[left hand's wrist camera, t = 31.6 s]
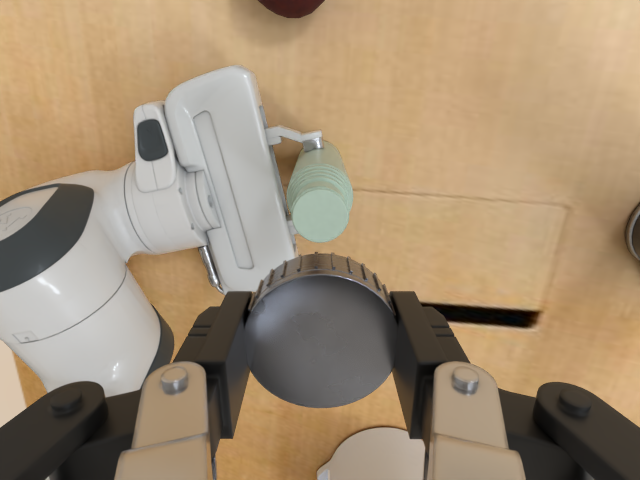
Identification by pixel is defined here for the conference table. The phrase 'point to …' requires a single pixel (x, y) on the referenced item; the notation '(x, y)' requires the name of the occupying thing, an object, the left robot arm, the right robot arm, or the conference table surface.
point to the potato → (292, 7)
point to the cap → (321, 331)
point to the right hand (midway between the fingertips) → (329, 171)
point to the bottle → (320, 194)
